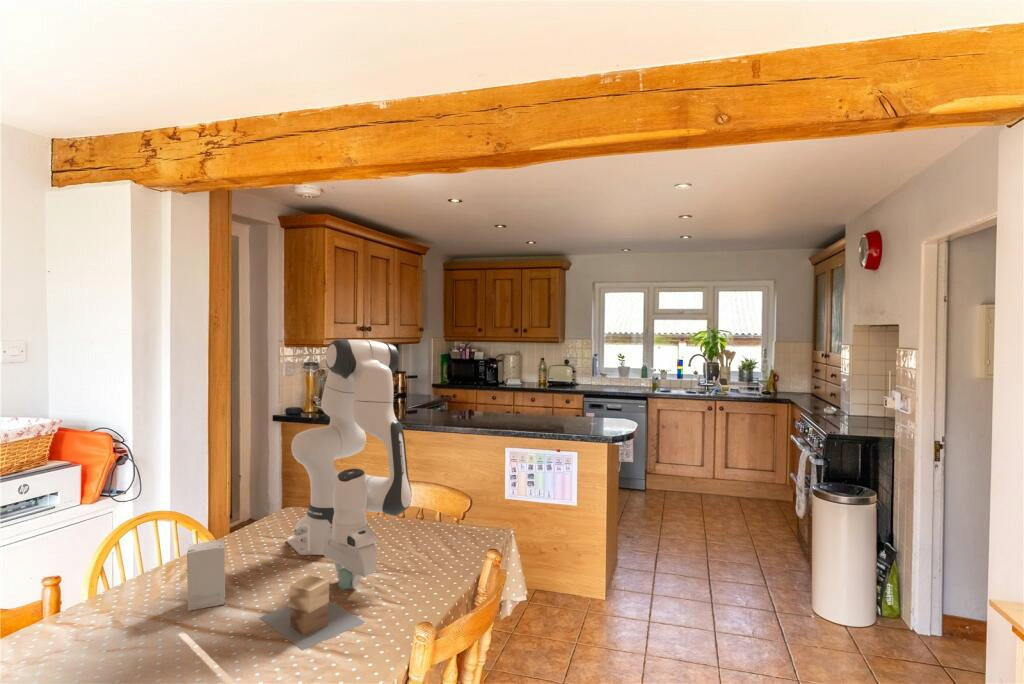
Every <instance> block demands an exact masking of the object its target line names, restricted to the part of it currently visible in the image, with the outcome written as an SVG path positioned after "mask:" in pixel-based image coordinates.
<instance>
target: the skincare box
mask: <svg viewBox="0 0 1024 684" xmlns="http://www.w3.org/2000/svg"><path fill="white" fill-rule="evenodd" d="M225 549H226V546H225V539H218V540H212V541H207V542H206V541H205V542H198V543H191V544H189V545H188V549H187V552H186V558H187V559H186V568H187V569H186V572H187V574H186V575H187V581H186V582H187V611H188V612H189V611H195V610H201V609H204V608H205V609H206V608H210V607H211V608H212V607H216V606H217V607H218V606H221V605H224V604H225V600H226V599H225V598H226V573H225V572H226V565H225V564H226V560H225V558H226V557H225V556H226V551H225Z"/></svg>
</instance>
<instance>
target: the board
mask: <svg viewBox="0 0 1024 684" xmlns="http://www.w3.org/2000/svg"><path fill="white" fill-rule="evenodd" d="M327 604H328V626H326V627H324V628H322V629H319V630H317V631H314V632H312V633H310V634H307V635H305V636H303V635H301V634H300V633H299V632H297V631H296V630H294V629H293V628H292V627H290V609H291V607H290V605H289V606H287V607H284V608H281V609H279V610H278V609H277V610H275V611H273V612H270V613H268V614H265V615H262V616H259V617H258V618H259V619H260V620H262V621H263V623H266V624H267V625H268V626H269V627H271V628H272V629H274V631H276V632H277V633H278V634H280V635H281V636H282V637H284V638H285V639H286V640H288V641H289V642H290V643H291V644H293V645H294V646H296V647H297V648H298V649H299V650H301V651H305V650H306V649H309V648H311V647H314V646H316V645H318V644H320V643H322V642H323V643H324V641H327V640H330V639H331V638H334V637H337V636H339V635H341V634H343V633H345V632H347V631H350V630H352V629H354V628H357V627H359V626H361V625H365V624H367V622H366V620H365V621H364V620H363V619H361V618H360V617H358V616H357V615H355V614H353V613H351V612H350V611H348V610H347V609H345V608H343V607H341V606H340V605H338V604H336V603H335V602H334V601H332V600H330V599H329V602H328V603H327Z"/></svg>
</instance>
